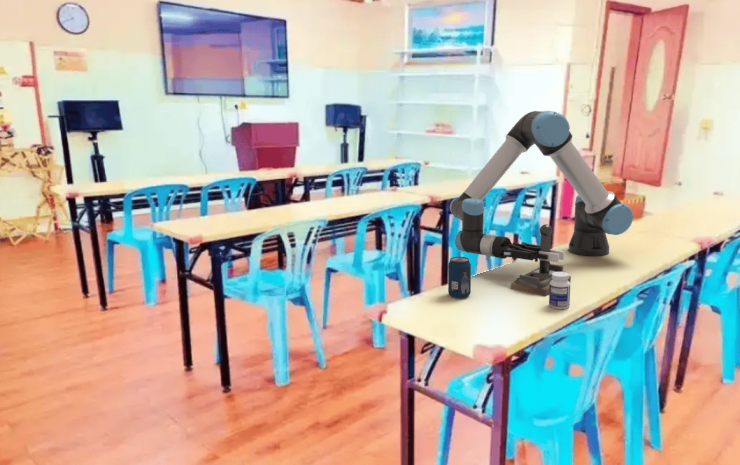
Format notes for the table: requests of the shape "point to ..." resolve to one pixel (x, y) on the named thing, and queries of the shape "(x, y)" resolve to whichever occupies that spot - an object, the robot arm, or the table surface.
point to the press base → (535, 282)
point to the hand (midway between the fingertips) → (561, 257)
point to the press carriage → (545, 247)
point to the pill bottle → (559, 291)
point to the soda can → (459, 277)
